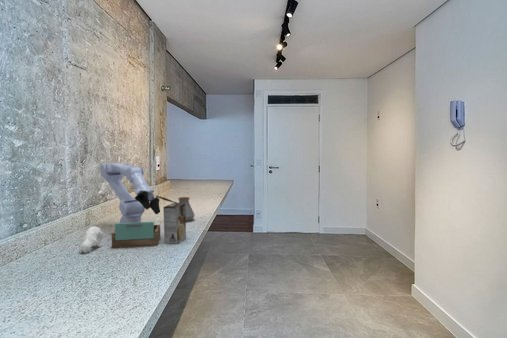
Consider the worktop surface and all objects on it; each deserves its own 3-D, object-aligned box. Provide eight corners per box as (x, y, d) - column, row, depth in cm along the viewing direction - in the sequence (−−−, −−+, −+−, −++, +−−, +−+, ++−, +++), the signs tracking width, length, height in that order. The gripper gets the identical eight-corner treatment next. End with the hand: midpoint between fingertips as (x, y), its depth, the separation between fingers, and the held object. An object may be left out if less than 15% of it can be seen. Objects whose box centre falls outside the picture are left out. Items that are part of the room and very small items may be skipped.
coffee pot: (193, 217, 186) (193, 192, 185) (195, 222, 176) (195, 195, 174) (155, 220, 180) (154, 194, 179) (155, 224, 169) (154, 197, 168)
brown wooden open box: (118, 239, 142) (118, 226, 142) (160, 237, 146) (160, 224, 145) (112, 248, 131) (111, 233, 130) (157, 245, 134) (157, 231, 133)
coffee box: (173, 237, 146) (172, 202, 145) (186, 238, 145) (185, 203, 143) (163, 243, 137) (163, 206, 136) (177, 244, 136) (176, 207, 134)
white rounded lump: (103, 224, 134) (90, 235, 122) (104, 243, 136) (92, 256, 124) (87, 225, 134) (73, 235, 122) (89, 244, 135) (75, 256, 123)
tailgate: (116, 239, 132) (115, 223, 131) (154, 237, 134) (153, 221, 134) (115, 240, 130) (114, 224, 130) (153, 238, 133) (153, 222, 132)
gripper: (139, 176, 137) (151, 199, 130) (157, 187, 149) (169, 209, 143) (126, 186, 136) (137, 210, 130) (145, 196, 149) (156, 219, 143)
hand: (153, 210), depth 137 cm, fingers open, 7 cm apart
